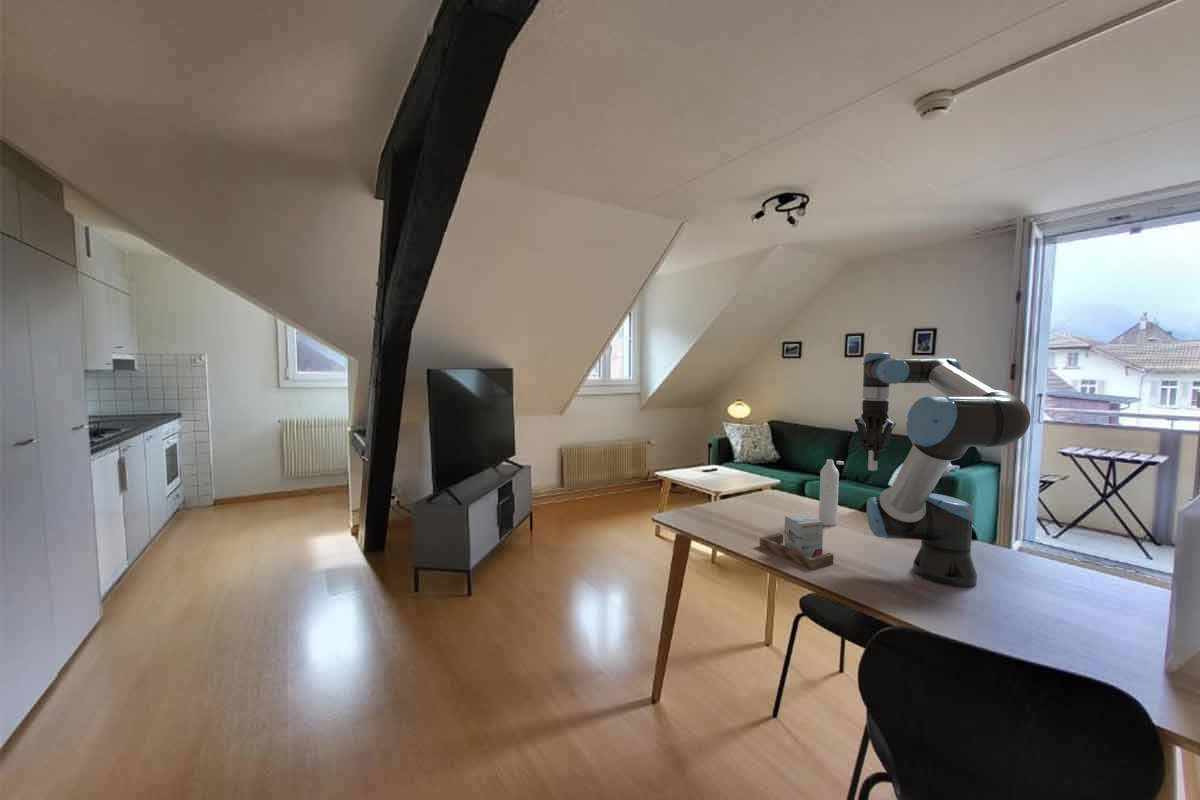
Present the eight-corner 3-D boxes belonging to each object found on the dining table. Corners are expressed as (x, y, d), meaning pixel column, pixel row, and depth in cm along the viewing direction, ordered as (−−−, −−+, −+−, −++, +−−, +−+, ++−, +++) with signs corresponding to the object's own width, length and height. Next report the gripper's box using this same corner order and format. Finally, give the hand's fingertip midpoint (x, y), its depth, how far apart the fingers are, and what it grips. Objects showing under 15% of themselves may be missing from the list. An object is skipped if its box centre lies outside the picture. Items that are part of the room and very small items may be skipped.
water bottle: (815, 522, 187) (817, 459, 184) (825, 519, 190) (827, 457, 188) (835, 528, 179) (837, 463, 177) (846, 525, 182) (848, 461, 180)
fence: (833, 563, 148) (833, 554, 148) (812, 570, 144) (812, 560, 144) (779, 541, 167) (779, 533, 167) (759, 546, 163) (759, 537, 162)
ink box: (805, 547, 162) (806, 513, 161) (823, 557, 154) (824, 521, 153) (783, 549, 160) (784, 515, 159) (799, 559, 152) (800, 523, 151)
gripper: (902, 400, 154) (899, 472, 156) (863, 397, 166) (861, 464, 167) (888, 401, 151) (884, 475, 152) (849, 398, 162) (847, 467, 164)
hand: (872, 469), depth 160 cm, fingers closed
